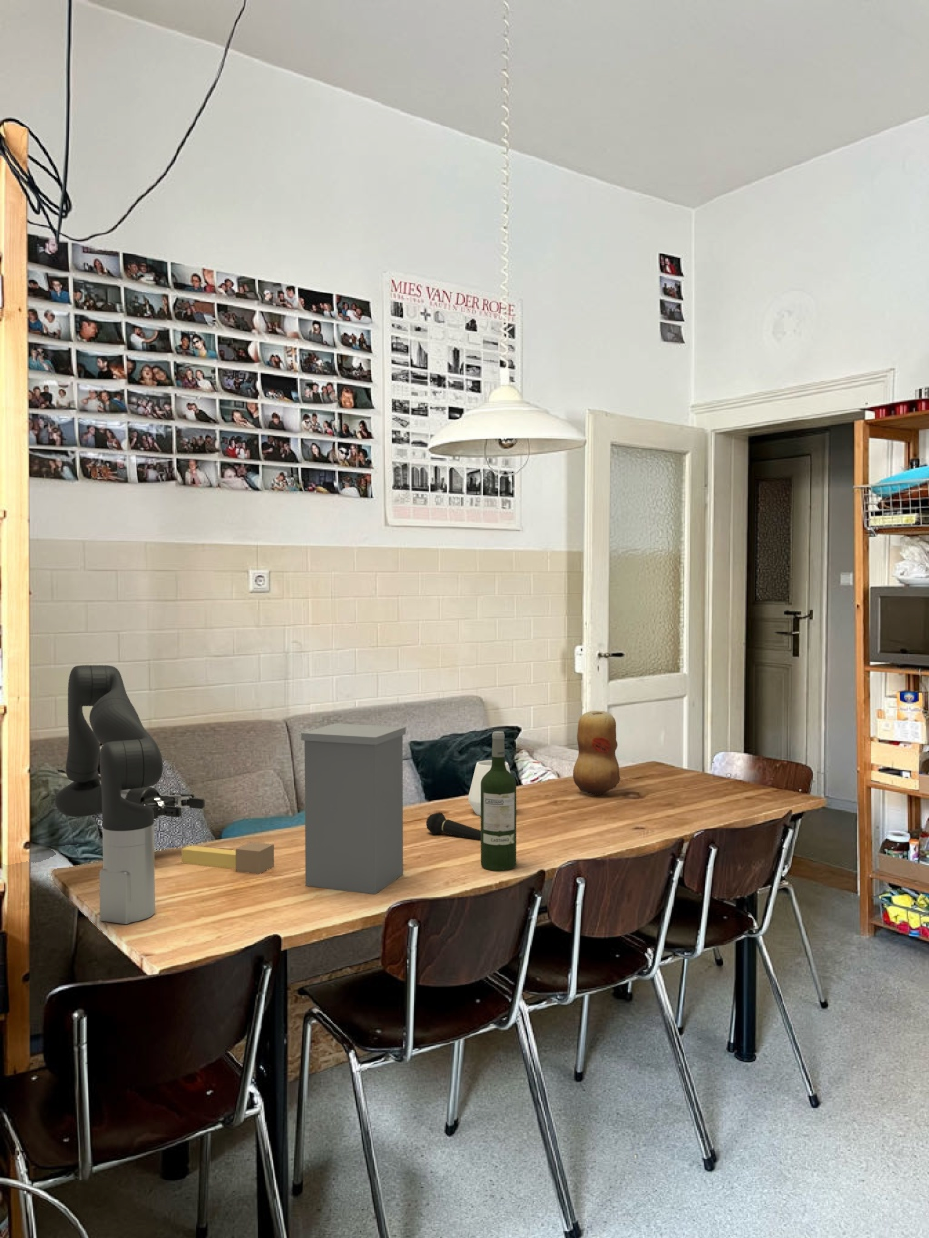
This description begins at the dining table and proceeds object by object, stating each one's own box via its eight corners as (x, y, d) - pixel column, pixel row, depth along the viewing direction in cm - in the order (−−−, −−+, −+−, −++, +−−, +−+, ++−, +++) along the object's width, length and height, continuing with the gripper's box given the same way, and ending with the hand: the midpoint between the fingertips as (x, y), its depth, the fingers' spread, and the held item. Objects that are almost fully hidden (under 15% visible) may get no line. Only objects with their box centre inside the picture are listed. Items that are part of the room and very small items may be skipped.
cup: (461, 817, 256) (461, 765, 256) (475, 806, 269) (475, 757, 269) (510, 820, 253) (510, 768, 252) (521, 809, 265) (521, 759, 265)
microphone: (499, 853, 233) (429, 833, 242) (505, 829, 234) (435, 811, 243) (490, 851, 228) (420, 831, 238) (496, 827, 229) (425, 808, 239)
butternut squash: (578, 799, 277) (578, 714, 276) (569, 790, 291) (569, 708, 290) (624, 798, 278) (624, 714, 278) (613, 789, 292) (614, 708, 291)
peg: (178, 865, 212) (177, 842, 212) (194, 857, 218) (193, 836, 218) (259, 874, 205) (259, 851, 205) (274, 866, 211) (273, 844, 211)
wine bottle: (486, 872, 206) (486, 735, 205) (476, 862, 214) (476, 730, 213) (521, 869, 208) (521, 734, 207) (509, 859, 216) (509, 728, 215)
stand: (302, 886, 197) (301, 733, 196) (336, 866, 211) (335, 723, 210) (376, 895, 191) (375, 737, 190) (406, 874, 205) (405, 727, 204)
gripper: (112, 792, 214) (172, 798, 208) (154, 780, 227) (211, 785, 221) (113, 825, 214) (172, 832, 208) (154, 811, 227) (211, 817, 222)
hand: (192, 808), depth 215 cm, fingers open, 8 cm apart
